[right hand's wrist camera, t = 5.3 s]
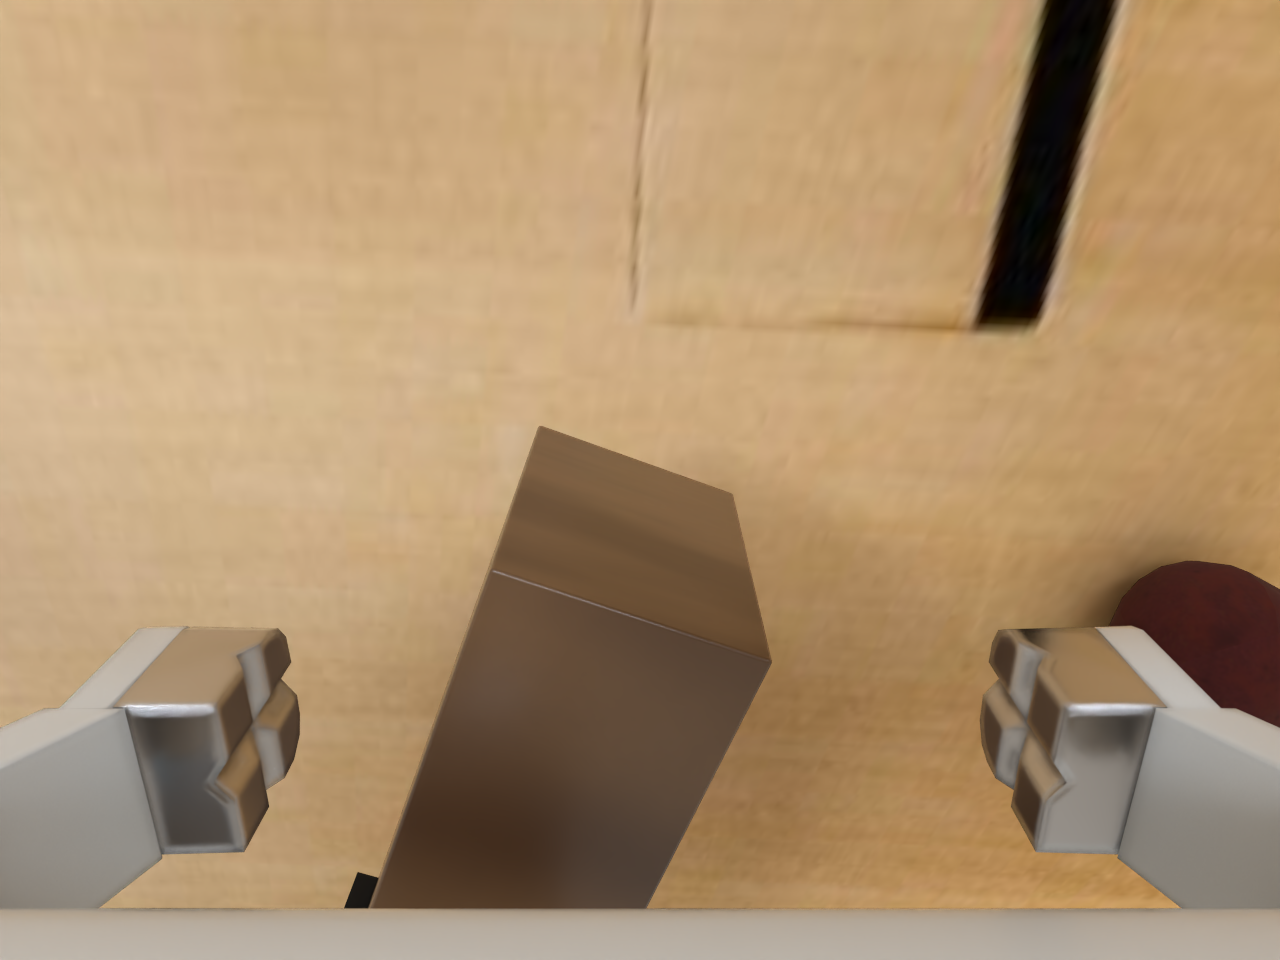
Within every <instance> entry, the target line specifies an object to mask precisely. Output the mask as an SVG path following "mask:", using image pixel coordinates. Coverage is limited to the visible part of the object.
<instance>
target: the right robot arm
mask: <svg viewBox="0 0 1280 960" xmlns="http://www.w3.org/2000/svg"><path fill="white" fill-rule="evenodd" d="M290 663H291V659H290V654H289V649H288V644H287V640H286V636H285V635H284V634H283V633H282V632H281V631H280V630H279V629H278V628H231V627H191V628H190V627H188V626H164V627H146V628H141V629H138V630H137V631H136V632H135V633H134V634H133V635H132V636H131V637H130V638H129V639H128V640H127V641H126V642H125V643H124V644H123V645H122V646H121V647H120V648H119V649H118V650H117V651H116V652H115V653H114V654H113V655H112V656H111V657H110V658H109V659H108V660H107V661H106V662H105V663H104V664H103V665H102V666H101V667H100V668H99V669H98V670H97V671H96V672H95V673H94V674H93V675H92V676H91V677H90V678H89V679H88V680H87V681H86V682H85V683H84V684H83V685H82V686H81V687H80V688H79V689H78V690H77V691H76V692H75V693H74V694H73V695H72V696H71V697H70V698H69V699H68V700H67V701H66V702H65V703H64V704H63V705H62V706H61V707H60V708H44V709H42V710H40V711H37V712H35V713H33V714H31V715H28V716H26V717H24V718H21V719H19V720H17V721H15V722H12V723H10V724H8V725H6V726H3V727H1V728H0V960H1280V728H1279V727H1277V726H1274V725H1272V724H1270V723H1268V722H1265V721H1263V720H1261V719H1258V718H1256V717H1254V716H1252V715H1249V714H1247V713H1245V712H1243V711H1240V710H1238V709H1236V708H1220V707H1219V706H1218V705H1217V704H1216V703H1215V702H1214V701H1213V700H1212V699H1211V698H1210V697H1209V696H1208V695H1207V694H1206V693H1205V692H1204V691H1203V690H1202V689H1201V688H1200V687H1199V686H1198V685H1197V684H1196V683H1195V682H1194V681H1193V680H1192V679H1191V678H1190V677H1189V676H1188V675H1187V674H1186V673H1185V672H1184V671H1183V670H1182V669H1181V668H1180V667H1179V666H1178V665H1177V664H1176V663H1175V662H1174V661H1173V660H1172V659H1171V658H1170V657H1169V656H1168V655H1167V654H1166V653H1165V652H1164V651H1163V650H1162V649H1161V648H1160V647H1159V646H1158V645H1157V644H1156V643H1155V642H1154V641H1153V640H1152V639H1151V638H1150V637H1149V636H1148V635H1147V634H1146V633H1145V632H1144V631H1143V630H1141V629H1139V628H1136V627H1133V626H1112V627H1083V628H1042V629H1007V630H998V632H997V634H996V636H995V638H994V640H993V642H992V647H991V653H990V658H989V663H990V665H991V666H992V668H993V669H994V671H995V673H996V674H997V676H998V677H999V680H998V681H997V682H996V683H995V684H994V685H993V686H992V687H991V688H990V689H989V690H988V691H987V692H986V693H985V694H984V695H983V700H982V708H981V715H980V728H981V739H982V746H983V750H984V753H985V756H986V760H987V762H988V764H989V766H990V768H991V770H992V772H993V774H994V776H995V778H996V779H998V780H999V781H1001V782H1003V783H1004V784H1006V785H1007V786H1009V787H1010V788H1012V789H1013V790H1014V793H1013V798H1012V804H1011V808H1012V809H1013V811H1014V813H1015V815H1016V817H1017V818H1018V820H1019V822H1020V824H1021V826H1022V828H1023V829H1024V831H1025V833H1026V835H1027V837H1028V838H1029V840H1030V842H1031V844H1032V846H1033V848H1034V849H1035V851H1036V852H1051V853H1088V854H1118V857H1117V858H1118V859H1119V860H1121V861H1122V862H1123V863H1125V864H1126V865H1127V866H1128V867H1130V868H1131V869H1132V870H1134V871H1135V872H1136V873H1137V874H1139V875H1140V876H1141V877H1142V878H1144V879H1145V880H1146V881H1148V882H1149V883H1150V884H1151V885H1153V886H1154V887H1155V888H1157V889H1158V890H1159V891H1160V892H1162V893H1163V894H1164V895H1165V896H1167V897H1168V898H1169V899H1171V900H1172V901H1173V902H1174V903H1176V904H1177V905H1178V906H1180V907H1181V908H1182V909H1181V908H1179V909H235V908H234V909H233V908H99V907H101V906H102V905H103V904H105V903H106V902H107V901H108V900H110V899H111V898H112V897H114V896H115V895H116V894H117V893H119V892H120V891H121V890H123V889H124V888H125V887H126V886H128V885H129V884H130V883H131V882H133V881H134V880H135V879H137V878H138V877H139V876H140V875H142V874H143V873H144V872H146V871H147V870H148V869H149V868H151V867H152V866H153V865H155V864H156V863H157V862H158V861H160V860H161V859H162V854H191V853H226V852H244V851H245V850H246V848H247V846H248V844H249V842H250V840H251V839H252V837H253V835H254V833H255V831H256V829H257V828H258V826H259V824H260V822H261V820H262V819H263V817H264V815H265V813H266V811H267V809H268V808H269V804H268V798H267V793H266V790H267V789H268V788H270V787H271V786H273V785H274V784H276V783H277V782H279V781H281V780H282V779H284V778H285V776H286V774H287V772H288V770H289V768H290V766H291V764H292V762H293V760H294V757H295V753H296V748H297V744H298V739H299V735H300V712H299V706H298V699H297V695H296V694H295V693H294V692H293V691H292V690H291V689H290V688H289V687H288V686H287V685H286V684H285V683H284V682H283V681H282V680H281V677H282V676H283V674H284V673H285V671H286V669H287V668H288V666H289V665H290Z"/></svg>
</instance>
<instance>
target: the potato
mask: <svg viewBox="0 0 1280 960" xmlns="http://www.w3.org/2000/svg"><path fill="white" fill-rule="evenodd" d="M1112 626H1133V627H1136V628H1139V629H1141V630H1143V631H1144V632H1145V633H1146V634H1147V635H1148V636H1149V637H1150V638H1151V639H1152V640H1153V641H1154V642H1155V643H1156V644H1157V645H1158V646H1159V647H1160V648H1161V649H1162V650H1163V651H1164V652H1165V653H1166V654H1167V655H1168V656H1169V657H1170V658H1171V659H1172V660H1173V661H1174V662H1175V663H1176V664H1177V665H1178V666H1179V667H1180V668H1181V669H1182V670H1183V671H1184V672H1185V673H1186V674H1187V675H1188V676H1189V677H1190V678H1191V679H1192V680H1193V681H1194V682H1195V683H1196V684H1197V685H1198V686H1199V687H1200V688H1201V689H1202V690H1203V691H1204V692H1205V693H1206V694H1207V695H1208V696H1209V697H1210V698H1211V699H1212V700H1213V701H1214V702H1215V703H1216V704H1217V705H1218V706H1219V707H1220V708H1236V709H1238V710H1240V711H1243V712H1245V713H1247V714H1249V715H1252V716H1254V717H1256V718H1258V719H1261V720H1263V721H1265V722H1268V723H1270V724H1272V725H1274V726H1277V727H1279V728H1280V589H1278V588H1276V587H1275V586H1273V585H1271V584H1269V583H1267V582H1265V581H1264V580H1262V579H1260V578H1258V577H1256V576H1255V575H1253V574H1251V573H1249V572H1247V571H1244V570H1242V569H1239V568H1236V567H1234V566H1231V565H1224V564H1216V563H1208V562H1200V561H1184V562H1180V563H1175V564H1171V565H1166V566H1162V567H1160V568H1158V569H1156V570H1154V571H1153V572H1151V573H1149V574H1148V575H1146V576H1144V577H1143V578H1141V579H1139V580H1138V581H1137V582H1136V584H1135V585H1134V586H1133V587H1132V588H1131V589H1130V590H1129V591H1128V592H1127V593H1126V594H1125V596H1124V597H1123V598H1122V599H1121V602H1120V604H1119V606H1118V608H1117V610H1116V612H1115V614H1114V617H1113V619H1112V621H1111V623H1110V625H1109V627H1112Z"/></svg>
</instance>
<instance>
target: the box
mask: <svg viewBox="0 0 1280 960" xmlns="http://www.w3.org/2000/svg"><path fill="white" fill-rule="evenodd" d="M770 665H771V656H770V652H769V648H768V644H767V639H766V635H765V631H764V626H763V622H762V618H761V614H760V609H759V605H758V601H757V597H756V592H755V588H754V584H753V579H752V575H751V571H750V567H749V562H748V558H747V554H746V550H745V545H744V541H743V537H742V533H741V528H740V524H739V520H738V515H737V511H736V507H735V503H734V498H733V495H732V494H731V493H729V492H726V491H723V490H720V489H717V488H715V487H712V486H709V485H706V484H703V483H700V482H698V481H695V480H692V479H689V478H686V477H684V476H681V475H678V474H675V473H672V472H670V471H667V470H664V469H661V468H658V467H656V466H653V465H650V464H647V463H644V462H641V461H639V460H636V459H633V458H630V457H627V456H625V455H622V454H619V453H616V452H613V451H611V450H608V449H605V448H602V447H599V446H596V445H594V444H591V443H588V442H585V441H582V440H580V439H577V438H574V437H571V436H568V435H566V434H563V433H560V432H557V431H554V430H551V429H549V428H546V427H543V426H539V427H538V429H537V432H536V435H535V438H534V441H533V444H532V446H531V449H530V452H529V455H528V458H527V460H526V463H525V466H524V469H523V472H522V475H521V477H520V480H519V483H518V486H517V489H516V492H515V494H514V497H513V500H512V503H511V506H510V508H509V511H508V514H507V517H506V520H505V523H504V525H503V528H502V531H501V534H500V537H499V539H498V542H497V545H496V548H495V551H494V554H493V556H492V559H491V562H490V565H489V568H488V571H487V573H486V576H485V579H484V582H483V585H482V587H481V590H480V593H479V596H478V599H477V602H476V604H475V607H474V610H473V613H472V616H471V618H470V621H469V624H468V627H467V630H466V633H465V635H464V638H463V641H462V644H461V647H460V650H459V652H458V655H457V658H456V661H455V664H454V666H453V669H452V672H451V675H450V678H449V681H448V683H447V686H446V689H445V692H444V695H443V697H442V700H441V703H440V706H439V709H438V712H437V714H436V717H435V720H434V723H433V726H432V729H431V731H430V734H429V737H428V740H427V743H426V745H425V748H424V751H423V754H422V757H421V760H420V762H419V765H418V768H417V771H416V774H415V777H414V779H413V782H412V785H411V788H410V791H409V793H408V796H407V799H406V802H405V805H404V808H403V810H402V813H401V816H400V819H399V822H398V824H397V827H396V830H395V833H394V836H393V839H392V841H391V844H390V847H389V850H388V853H387V856H386V858H385V861H384V864H383V867H382V870H381V872H380V875H379V878H378V881H377V884H376V887H375V890H374V893H373V895H372V898H371V901H370V904H369V907H368V909H646V908H647V906H648V904H649V902H650V900H651V898H652V896H653V894H654V892H655V890H656V888H657V886H658V884H659V882H660V880H661V878H662V877H663V875H664V873H665V871H666V869H667V867H668V865H669V863H670V861H671V859H672V857H673V855H674V853H675V851H676V849H677V847H678V845H679V843H680V841H681V839H682V837H683V835H684V833H685V832H686V830H687V828H688V826H689V824H690V822H691V820H692V818H693V816H694V814H695V812H696V810H697V808H698V806H699V804H700V802H701V800H702V798H703V796H704V794H705V792H706V790H707V788H708V787H709V785H710V783H711V781H712V779H713V777H714V775H715V773H716V771H717V769H718V767H719V765H720V763H721V761H722V759H723V757H724V755H725V753H726V751H727V749H728V747H729V745H730V743H731V742H732V740H733V738H734V736H735V734H736V732H737V730H738V728H739V726H740V724H741V722H742V720H743V718H744V716H745V714H746V712H747V710H748V708H749V706H750V704H751V702H752V700H753V698H754V697H755V695H756V693H757V691H758V689H759V687H760V685H761V683H762V681H763V679H764V677H765V675H766V673H767V671H768V669H769V667H770Z"/></svg>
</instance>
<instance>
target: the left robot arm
mask: <svg viewBox="0 0 1280 960" xmlns="http://www.w3.org/2000/svg"><path fill="white" fill-rule="evenodd" d="M377 881H378V878H377V877H373V876H370V875H366V874H363V873H359V872H358V873H357V875H356V878H355V881H354V883H353V886H352V889H351V891H350V894H349V897H348V899H347V902H346V905H345V907H344V909H368V907H369V904H370V901H371V898H372V895H373V893H374V890H375V887H376V884H377Z"/></svg>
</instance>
